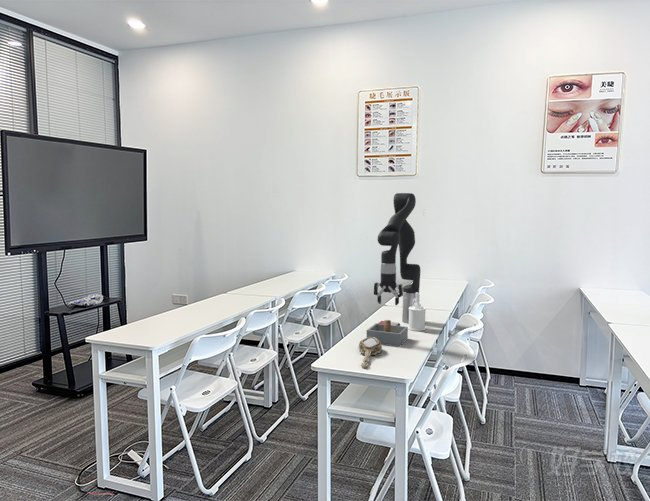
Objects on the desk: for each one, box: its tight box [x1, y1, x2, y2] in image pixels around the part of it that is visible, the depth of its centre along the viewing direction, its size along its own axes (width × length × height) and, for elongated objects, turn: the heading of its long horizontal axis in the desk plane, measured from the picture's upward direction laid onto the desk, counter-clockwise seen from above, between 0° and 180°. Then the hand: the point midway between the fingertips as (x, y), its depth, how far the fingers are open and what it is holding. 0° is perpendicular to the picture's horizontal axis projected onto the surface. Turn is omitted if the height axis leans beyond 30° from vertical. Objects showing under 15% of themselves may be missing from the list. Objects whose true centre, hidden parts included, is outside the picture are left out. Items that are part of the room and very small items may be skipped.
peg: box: [383, 319, 392, 332], centre depth 241 cm, size 3×3×10 cm
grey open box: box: [366, 323, 409, 347], centre depth 241 cm, size 14×17×6 cm
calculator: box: [377, 320, 401, 326], centre depth 258 cm, size 11×4×15 cm
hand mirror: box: [357, 336, 383, 369], centre depth 216 cm, size 11×6×30 cm
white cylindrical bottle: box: [407, 292, 427, 332], centre depth 261 cm, size 10×9×20 cm
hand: (388, 304), depth 240 cm, fingers open, 8 cm apart
